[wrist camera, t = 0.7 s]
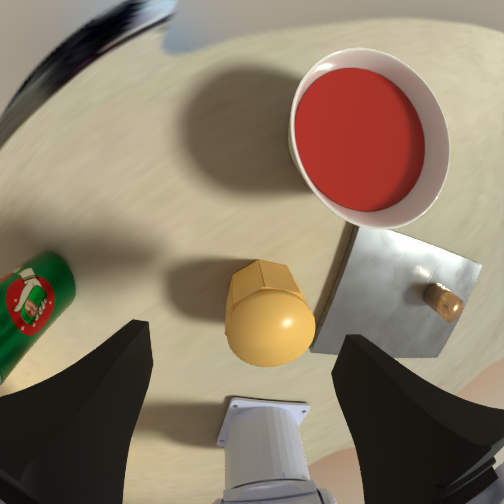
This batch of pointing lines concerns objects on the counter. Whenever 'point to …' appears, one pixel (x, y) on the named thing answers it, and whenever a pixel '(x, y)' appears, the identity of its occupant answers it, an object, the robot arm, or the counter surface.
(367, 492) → the robot arm
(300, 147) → the candle
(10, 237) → the counter surface
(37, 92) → the counter surface
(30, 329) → the soda can
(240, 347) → the orange cap
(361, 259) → the plate
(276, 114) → the counter surface
